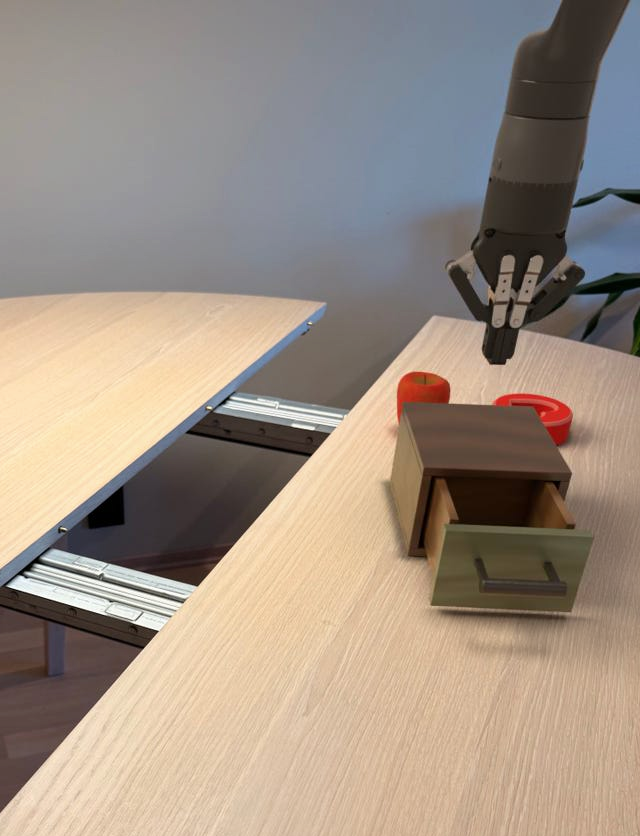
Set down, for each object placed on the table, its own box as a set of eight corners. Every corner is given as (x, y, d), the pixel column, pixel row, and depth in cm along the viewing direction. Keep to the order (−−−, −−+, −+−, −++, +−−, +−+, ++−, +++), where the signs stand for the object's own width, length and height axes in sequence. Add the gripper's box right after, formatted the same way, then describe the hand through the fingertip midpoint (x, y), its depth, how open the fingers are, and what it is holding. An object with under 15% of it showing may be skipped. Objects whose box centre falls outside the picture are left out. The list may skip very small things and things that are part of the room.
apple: (447, 429, 123) (458, 371, 119) (434, 447, 119) (446, 388, 114) (398, 419, 126) (407, 362, 121) (384, 437, 121) (393, 378, 117)
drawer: (585, 643, 85) (611, 565, 80) (438, 636, 86) (455, 558, 81) (533, 532, 101) (552, 461, 96) (409, 526, 101) (422, 456, 97)
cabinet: (547, 562, 98) (572, 473, 92) (407, 555, 98) (423, 467, 93) (513, 488, 110) (533, 406, 105) (389, 483, 111) (402, 401, 105)
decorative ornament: (496, 410, 128) (501, 387, 126) (573, 424, 125) (579, 401, 123) (479, 437, 121) (484, 413, 120) (559, 453, 118) (566, 429, 116)
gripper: (597, 163, 89) (552, 350, 99) (450, 161, 90) (421, 348, 100) (625, 180, 83) (574, 377, 93) (467, 179, 84) (434, 375, 94)
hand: (495, 362), depth 97 cm, fingers closed
